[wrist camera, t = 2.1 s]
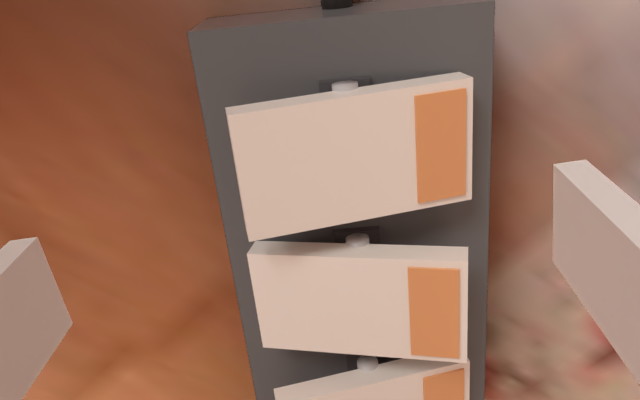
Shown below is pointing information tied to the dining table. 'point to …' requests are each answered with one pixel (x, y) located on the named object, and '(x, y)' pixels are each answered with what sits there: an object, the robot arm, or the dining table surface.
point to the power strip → (317, 77)
